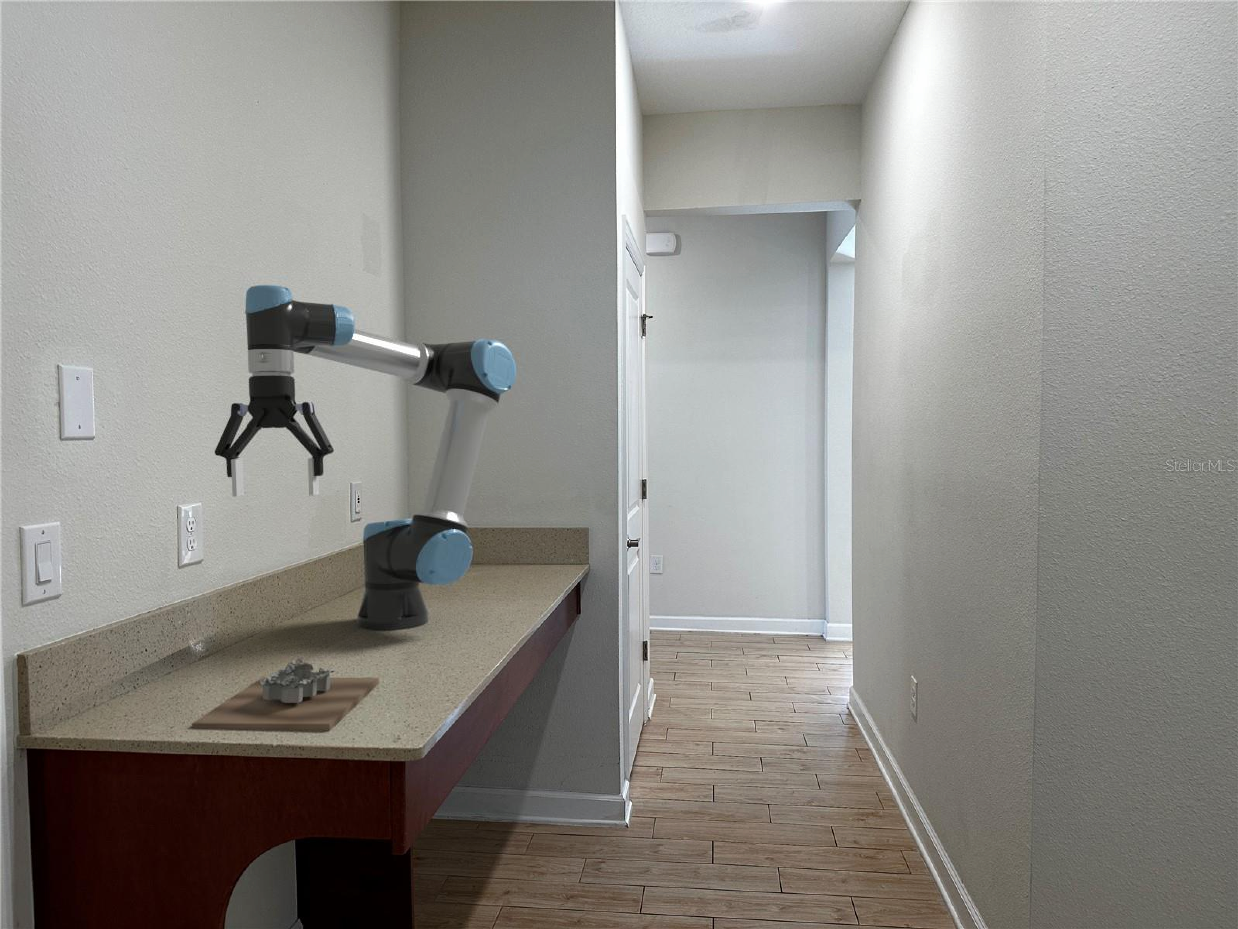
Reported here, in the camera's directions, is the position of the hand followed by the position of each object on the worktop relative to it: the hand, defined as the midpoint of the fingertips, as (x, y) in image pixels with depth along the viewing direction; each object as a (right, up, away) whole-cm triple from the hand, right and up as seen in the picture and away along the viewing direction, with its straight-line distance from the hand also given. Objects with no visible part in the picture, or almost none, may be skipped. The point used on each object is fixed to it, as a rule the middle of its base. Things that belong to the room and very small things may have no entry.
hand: (276, 495), depth 151 cm
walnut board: (+10, -32, -18) cm, 38 cm away
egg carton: (+8, -32, -18) cm, 37 cm away
